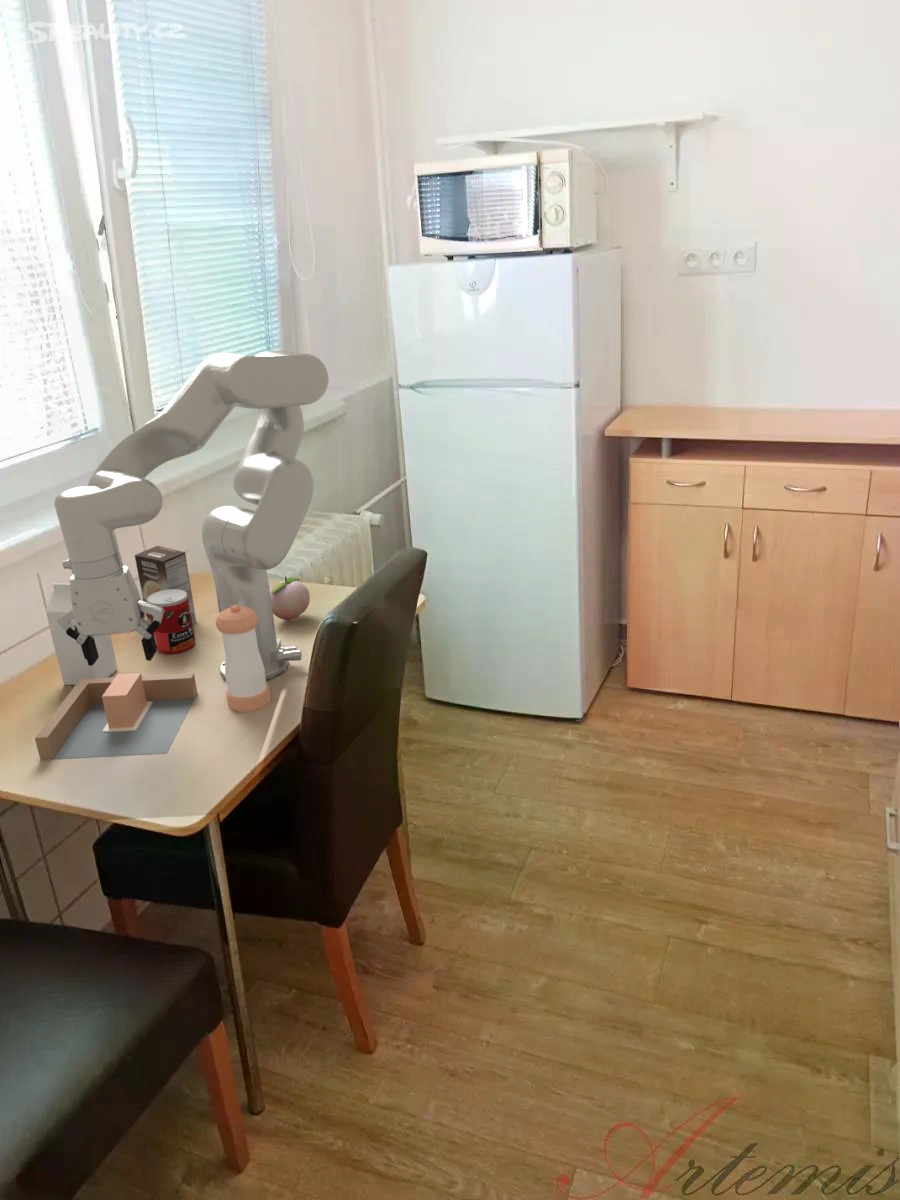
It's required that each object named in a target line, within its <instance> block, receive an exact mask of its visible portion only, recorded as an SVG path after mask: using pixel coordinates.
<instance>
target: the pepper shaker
mask: <svg viewBox="0 0 900 1200" xmlns="http://www.w3.org/2000/svg"><path fill="white" fill-rule="evenodd" d="M257 623H258V616H257V614H256V612H255V611H254V610H253V609H251V608H249V607H243V606H239V605H233V606H231V608H228V609H226V610H224V611H222V612H220V613H219V612H218V614H217V616H216V619H215V626H216V628H217V630H218V632H219V633H221V634H222V642H223V649H224V659H225V660H224V661H225V677H226V679H225V680H226V686H227V690H226V702H227V706H228V708H229V709H231V710H232V711H236V712H252V711H256V710H259V709H261V708H264V707H265V706H266V705H268V704H269V702H270V701H271V692H270V686H269V684H268V683H267V680H266V678H265V669H264V665H263V662H262V659H261V656H260V653H259V650H258V645H257V638H256V632H255V627H256V626H257Z"/></svg>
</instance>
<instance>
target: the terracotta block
mask: <svg viewBox="0 0 900 1200" xmlns="http://www.w3.org/2000/svg"><path fill="white" fill-rule="evenodd" d="M142 676H143V675H142V673H141V672H133V673H132V672H131V673H117V674H116V676H114V677H115V679H114V680H113V681H112V683H111V684H110V686H109V687H108V689H107V690H106V691H105V693H104V694H103V696H102V699H103V704H104V708H105V713H106V717H107V722H108V726H109V728H126V727H133V726H134V725H135V723H136V721H137V720H138V718H139V716H140V715H141V713H142V711H143V710H144V708H145V706H146V705H147V701H146V696H145V691H144V686H143V681H142Z"/></svg>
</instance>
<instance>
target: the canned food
mask: <svg viewBox="0 0 900 1200" xmlns="http://www.w3.org/2000/svg"><path fill="white" fill-rule="evenodd" d="M147 601H148V602H147V603H150V604H153V605H156V606H158V607H161V608H164V610H165V612H164V615H163V618H162V621H161V624H160V625H159V627H158V628H157V630H156V631H155V632H154V637H155V641H156V645H157V652H159V653H160V654H164V655H177V654H178V655H179V654H183V653H185V652H188V651H190V650H191V649H193V648H194V646H195V644H196V638H195V637H196V636H195V632H194V631H195V630H194V626H193V625H194V624H192V618H191V612H190V606H189V601H188V596H187V593H186V592H185V591H183V590H177V589H170V590H163V591H159V592H156V593H154V594H152V595H150V596H149V597H148V598H147ZM153 618H154V617H153V615H151V614H150V619H151V623H152V622H153Z"/></svg>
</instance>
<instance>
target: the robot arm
mask: <svg viewBox="0 0 900 1200" xmlns="http://www.w3.org/2000/svg"><path fill="white" fill-rule="evenodd" d="M329 380H330V379H329V373H328V369H327V367H326V366H325V364H324V363H323V361H322V360H321V359H320V358H318V357H317V356H315V355H313V354H309V353H304V352H290V351H283V350H266V351H261V352H260V353H257V354H256V355H248V354H237V353H236V354H235V353H227V352H225V353H224V352H220V353H213V354H211V355H209V356H208V357H207V358H205V359H204V360H203V361H202V362H201V363H200V364H199V365H198V367H197V368H196V369H195V370H194V372H193V373H192V374H191V375H190V377H189V378H188V379H187V380H186V381H185V382H184V384H183V385H182V387H181V388H180V389H179V390H178V391H177V393H176V394H175V395H174V396H173V398H172V399H171V400H170V401H169V402H168V404H166V406H165V407H164V408H163V409H162V411H161V412H160V413H159V414H158V415H157V416H155V417H154V418H152V419H151V420H149V421H148V422H146V423H144V424H143V425H142V426H141V427H139V428H137V429H136V430H135V431H133V432H131V434H129V435H127V436H126V437H125V438H123V439H122V440H121V441H120V442H119V443H117V444H116V445H115V446H114V447H113V449H111V451H109V453H108V454H107V455H106V456H105V458H103V460H102V462H101V463H100V464H99V465H98V466H97V468H96V469H95V470H94V471H93V473H92V475H91V477H90V479H89V480H88V483H87V486H86V485H83V486H82V485H81V486H78V487H72V488H69V489H67V490H66V489H65V490H63V491H61V492H59V494H57V496H56V497H55V499H54V509H55V512H56V516H57V518H58V519H57V520H58V522H59V526H60V527H59V528H60V529H61V534H62V537H63V541H64V544H65V547H66V551H67V554H68V557H69V558H68V559H66V560H63V561H62V567H63V569H64V570H65V569H66V570H67V569H68V570H71V573H72V575H71V576H70V577H69V584H70V595H71V603H72V610H71V611H69V612H67V613H66V614H64V615H63V616H61V617H60V618H59V619H58V621H57V623H58V624H59V625H60V626H61V627H62V628H63V630H65V631H66V634H67V635H68V636H70V637H71V638H73V639H75V640H76V642H77V644H79V645H81V648H82V651H83V655H84V658H85V659H87V662H88V665H89V666H92V665H94V663H95V662H96V661H97V659H98V658H99V655H98V651H97V648H96V644H95V641H94V638H93V637H92V636H97V635H109V634H110V635H118V634H129V633H133V632H136V633H138V634H139V635H140V636H141V637H142V639H141V645H142V649H143V652H144V657H145V660H146V661H147V662H148V661H149V662H151V661H152V660H153V658H154V656H155V655H156V653H157V652H158V649H157V645H156V641H155V637H154V632H155V631H156V630H157V628H158V627H159V625H160V624H161V621H162V618H163V615H164V612H165V610H164V608H161V607H158V606H156V605H153V604H150V603H147V602H144V601H143V599H142V598H141V594H140V591H139V589H138V586H137V583H136V581H135V579H134V577H133V575H132V573H131V571H130V569H129V567H128V566H127V565H124V564H123V563H124V562H123V560H122V554H121V550H120V548H119V547H120V546H119V543H118V539H117V536H116V531H115V530H116V529H117V530H118V529H123V528H127V527H135V526H139V525H143V524H146V523H148V522H151V521H152V520H154V519H155V518H156V517H157V516H158V515H159V514H160V512H161V510H162V507H163V502H164V501H163V494H162V493H161V490H160V489H159V487H158V486H157V485H156V484H155V483H154V482H152V481H150V480H148V479H146V477H147V476H148V475H149V474H150V473H152V472H153V471H154V470H155V469H156V468H158V467H160V466H162V465H163V464H165V463H167V462H169V461H172V460H175V459H178V458H181V457H185V456H188V455H191V454H193V453H195V452H197V451H200V450H201V449H203V448H204V447H205V445H207V443H208V441H209V440H210V439H211V438H212V437H213V435H214V433H215V432H216V431H217V430H218V428H220V426H221V424H222V423H223V422H224V421H225V419H226V418H227V417H228V416H229V415H230V414H231V412H232V411H233V410H234V409H235V408H236V407H238V408H244V409H249V410H250V409H251V410H252V409H254V410H256V409H257V410H258V411H257V412H258V416H257V420H256V421H257V422H256V425H255V427H254V430H253V433H252V435H251V437H250V439H249V442H248V444H247V445H246V447H245V450H244V452H243V455H242V456H241V459H240V461H239V463H238V465H237V468H236V470H235V473H234V475H233V478H232V479H233V481H232V484H233V485H232V486H233V489H234V491H235V493H236V496H238V497H239V498H240V499H242V500H243V501H245V502H248V503H250V504H253V505H256V509H255V510H251V509H249V508H244V507H243V506H242V507H241V506H237V505H223V506H219V507H217V508H215V509H213V510H211V511H210V512H209V513H208V514H207V516H206V517H205V519H204V520H203V523H202V529H201V539H202V544H203V548H204V551H205V554H206V556H207V559H208V562H209V565H210V568H211V572H212V577H213V582H214V588H215V594H216V600H217V605H218V606H217V607H218V614H219V613H220V612H222V611H224V610H226V609H228V608H231V606H233V605H239V606H243V607H249V608H251V609H253V610H254V611H255V612H256V614H257V616H258V623H257V626H256V627H255V632H256V638H257V645H258V650H259V653H260V656H261V659H262V662H263V665H264V669H265V678H266V681H268V680H270V679H273V678H276V677H278V676H279V675H281V674H282V673H283V672H284V671H285V670H286V669H287V668H288V665H289V661H291V662H293V661H294V662H295V661H302V650H301V649H299V650H297V646H296V645H295V646H285V645H282V642H281V641H282V640H281V639H280V638H277V634H276V626H275V621H274V614H273V611H272V604H271V597H270V590H271V589H270V582H269V577H268V572H267V571H268V570H272V569H274V568H277V566H279V565H280V564H281V563H282V562H283V561H284V559H286V558H287V557H286V556H287V555H288V554H289V552H290V550H291V548H292V546H293V543H294V541H295V538H296V537H297V535H298V533H299V530H300V528H301V526H302V525H303V524H302V523H303V522H304V520H305V517H306V515H307V512H308V510H309V508H310V505H311V502H312V500H313V496H314V489H315V487H314V477H313V475H312V472H311V470H310V468H309V467H308V466H307V465H306V464H305V463H304V462H302V461H300V460H298V459H297V458H296V457H297V454H298V452H299V449H300V447H301V445H302V441H303V439H304V431H305V422H304V416H303V411H302V408H301V406H307V405H311V404H314V403H316V402H318V401H319V400H320V399H321V398H322V397H323V396H324V395H325V394H326V392H327V390H328V387H329V382H330V381H329ZM146 613H148V614H151V615H153V617H154V618H153V622H152V623H149V622H148V621H147V618H146ZM73 619H75V623H76V626H75V625H73V624H72V623H71V620H73ZM286 667H287V668H286ZM219 672H220V676H221V677H222V678H223V679H224V680H226V677H225V660H223V661H222V662H221V664H220V666H219Z"/></svg>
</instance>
